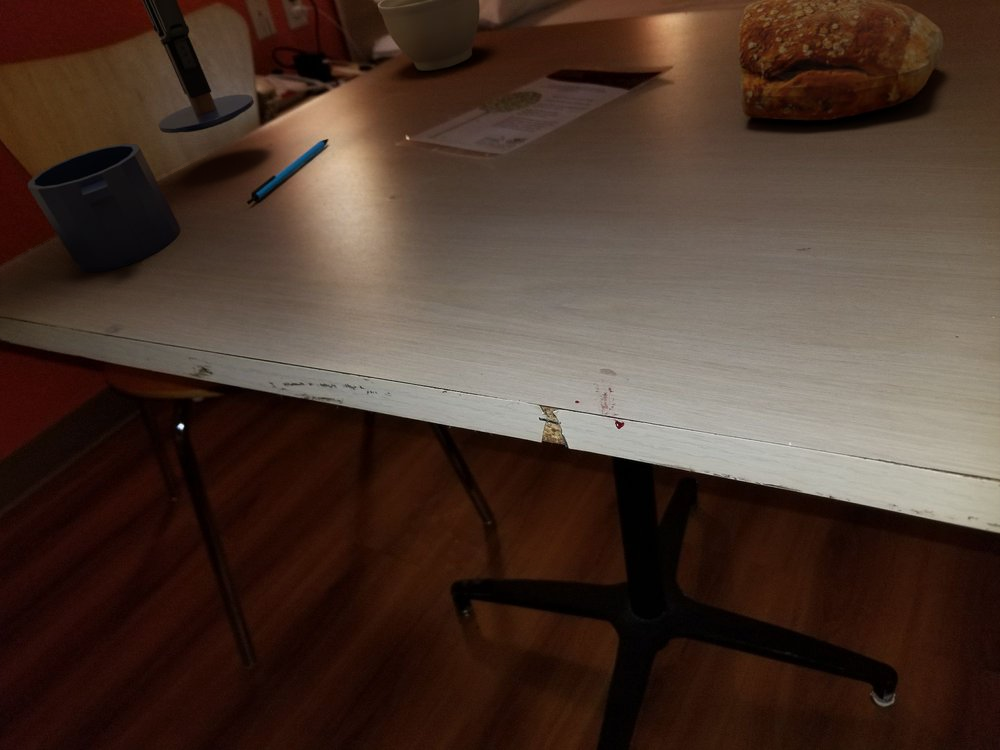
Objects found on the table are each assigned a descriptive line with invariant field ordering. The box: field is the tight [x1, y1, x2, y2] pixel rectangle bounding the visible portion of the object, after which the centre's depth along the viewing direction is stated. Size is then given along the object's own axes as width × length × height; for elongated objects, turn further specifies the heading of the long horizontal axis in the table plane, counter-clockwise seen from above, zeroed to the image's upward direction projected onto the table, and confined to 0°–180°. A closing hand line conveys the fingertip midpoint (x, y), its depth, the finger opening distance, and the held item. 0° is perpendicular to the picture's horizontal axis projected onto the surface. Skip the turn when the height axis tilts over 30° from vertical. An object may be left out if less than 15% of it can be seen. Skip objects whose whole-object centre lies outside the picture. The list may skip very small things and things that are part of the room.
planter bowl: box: [377, 0, 481, 72], centre depth 118 cm, size 16×16×11 cm
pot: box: [27, 143, 181, 273], centre depth 79 cm, size 11×17×10 cm
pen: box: [246, 138, 329, 205], centre depth 90 cm, size 1×19×1 cm, turn 161°
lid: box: [158, 35, 255, 134], centre depth 92 cm, size 12×12×11 cm
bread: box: [737, 0, 945, 121], centre depth 72 cm, size 20×18×10 cm
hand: (197, 92), depth 94 cm, fingers closed on lid, 3 cm apart
